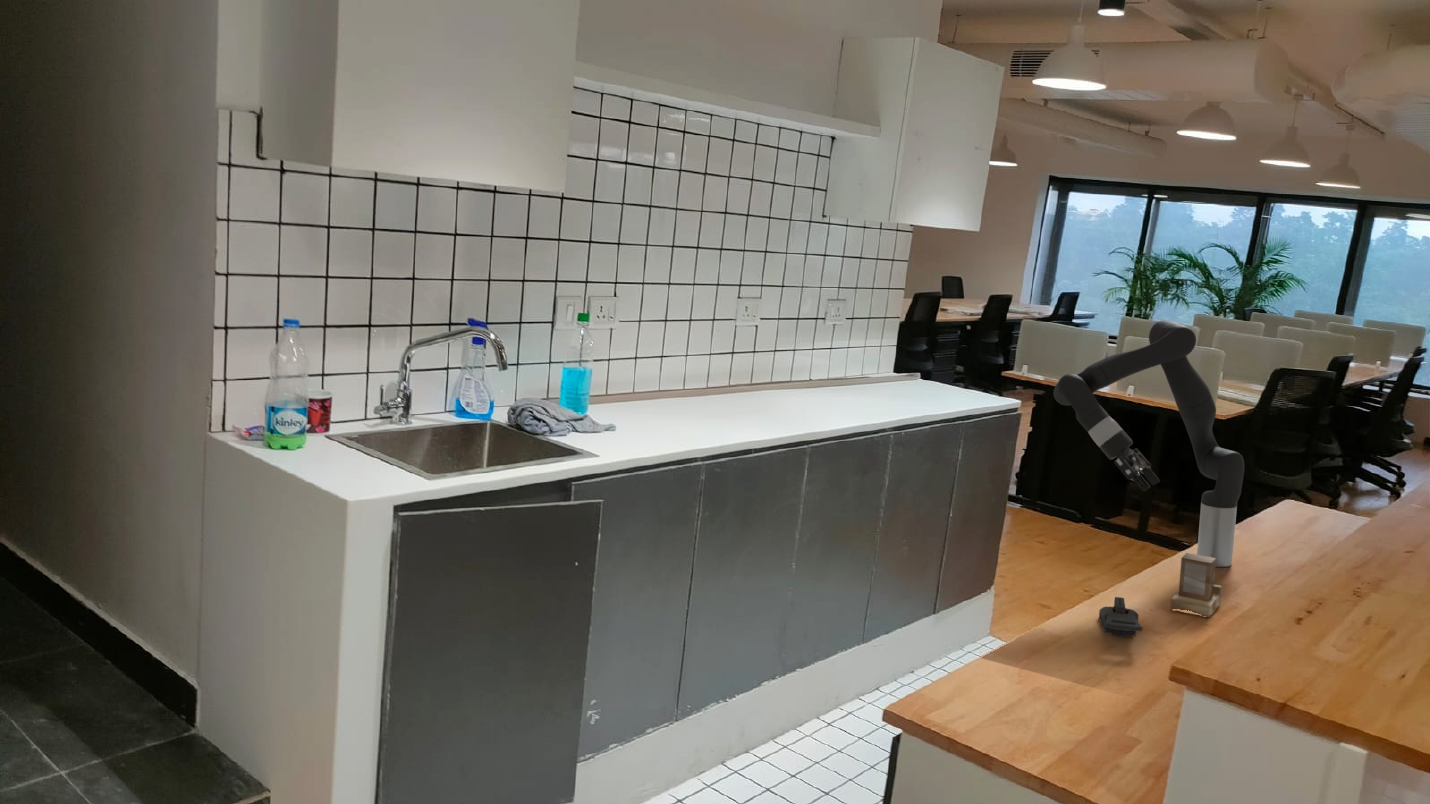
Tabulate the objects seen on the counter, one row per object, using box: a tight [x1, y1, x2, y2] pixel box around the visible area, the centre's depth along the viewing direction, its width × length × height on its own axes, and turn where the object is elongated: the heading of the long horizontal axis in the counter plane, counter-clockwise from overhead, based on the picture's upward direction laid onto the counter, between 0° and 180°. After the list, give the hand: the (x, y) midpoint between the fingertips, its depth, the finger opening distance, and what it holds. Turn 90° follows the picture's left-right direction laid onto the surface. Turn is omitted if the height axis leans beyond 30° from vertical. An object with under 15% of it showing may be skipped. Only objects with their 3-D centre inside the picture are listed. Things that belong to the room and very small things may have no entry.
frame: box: [1178, 552, 1216, 601], centre depth 270 cm, size 5×7×10 cm
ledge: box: [1169, 584, 1223, 618], centre depth 270 cm, size 12×9×5 cm
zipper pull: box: [1098, 596, 1143, 638], centre depth 253 cm, size 9×7×25 cm
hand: (1152, 486), depth 277 cm, fingers open, 8 cm apart
